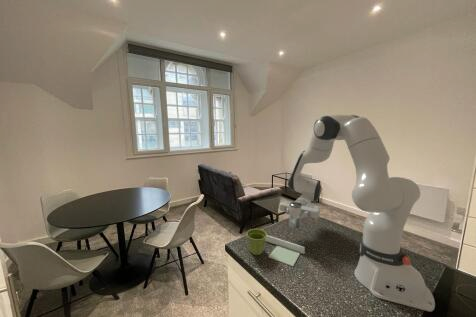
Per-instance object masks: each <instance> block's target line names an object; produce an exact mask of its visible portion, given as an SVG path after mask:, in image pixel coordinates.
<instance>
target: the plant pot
mask: <svg viewBox="0 0 476 317" xmlns="http://www.w3.org/2000/svg"><path fill="white" fill-rule="evenodd" d="M267 235H268V233H267V232H266V231H265V230H263V229H260V228H251V229H249V230H247V232H246V237H247V239H248V247H249V252H250V253H251V254H252V255H255V256H260V255H262V254H263V253H264V247H265V242H266V241H265V239H266V237H267Z"/></svg>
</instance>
